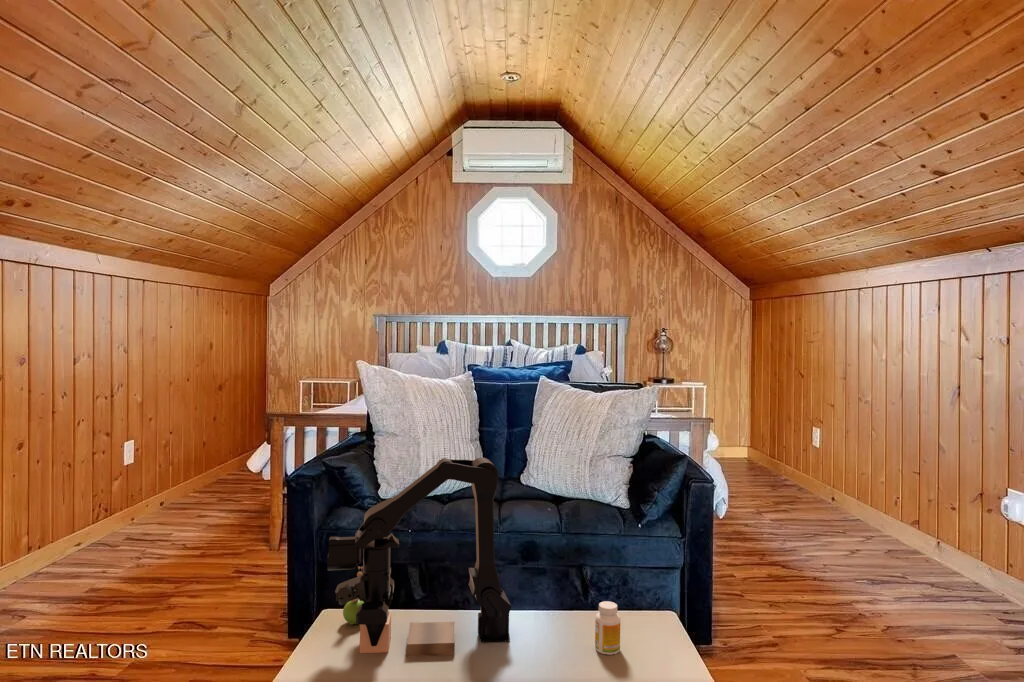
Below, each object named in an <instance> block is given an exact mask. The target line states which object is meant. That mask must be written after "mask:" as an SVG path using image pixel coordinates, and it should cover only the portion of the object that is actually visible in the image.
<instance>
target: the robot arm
mask: <svg viewBox="0 0 1024 682" xmlns="http://www.w3.org/2000/svg"><path fill="white" fill-rule="evenodd" d="M498 471H499V470H498V469H497V467H496V466H495V464H493V462H492V461H490V459H489V458H486V457H478V458H477V457H476V458H475V459H474V460H472V459H454V458H453V459H451V458H446V457H445V458H441V459H439V460H438V461H437V462H436V463H435V464H434V465H433V466H432V467H430V469H428V470H427V471H426V472H424V473H423V474H422V475H420V476H419V477H418V478H417V479H415V480H414V481H412V483H410V484H409V485H408V486H407V487H405V488H404V489H402V490H401V491H400V492H398V494H397V495H394V496H393V497H391V498H387V499H385V500H383V501H381V502H379V503H378V504H375V505H373V506H371V507H370V508H369V509H368V510H366V512H365V514H364V518H363V522H362V524H361V526H360V527H359V528H358V530H356V532H355V534H354V535H355V536H342V537H341V536H330V537H329V539H328V542H329V543H328V553H327V558H326V560H327V564H326V566H327V567H326V568H327V571H329V572H330V571H342V570H344V571H345V570H355V569H356V568H358V565H359V564H361V550H363V551H362V552H363V560H362V561H363V562H362V563H363V565H362V567H363V569H362V571H361V572H362V575H361V576H360V577H353V578H351V579H348V580H345V581H342V582H341V583H339V584H337V585H336V589H335V590H334V592H335V601H336V602H338V604H339V605H340V606H345V605H346V604H347V602H349V601H352V600H354V599H357V598H358V599H360V601H363V602H364V603H362V604H361V605H360V606H359V607H358V610H357V613H356V624H355V625H358V626H360V625H363V624H365V625H366V627H367V630H368V634H369V638H370V642H371V646H377V643H378V641H379V639H380V636H381V634H382V631H383V629H384V626H385V624H386V623H387V619H388V615H389V614H388V612H389V608H390V606H391V603H392V601H393V594H394V589H395V580H394V579H393V578H392V577H391V574H392V567H391V548H399V547H400V542H399V538H397V537H396V536H394V534H393V533H392V532H391V531H393V530H394V528H396V526H397V525H398V524H399V522H400V521H401V519H402V518H403V517H404V515H406V513H407V512H409V511H410V510H411V509H413V508H414V507H415V506H416V505H417V504H419V503H420V502H422V500H424V499H425V498H426V497H428V496H430V494H432V493H433V492H434V491H435V490H437V489H438V488H439V487H441V486H442V484H444V483H445V482H447V481H448V480H453V481H458V482H463V483H466V484H467V483H468V484H471V488H472V493H473V497H474V505H475V507H474V508H475V509H474V510H475V512H474V513H475V543H476V545H475V546H476V547H475V549H476V551H475V552H476V561H475V566H474V567H468V573H469V581H468V586H469V588H470V591H471V594H472V596H473V597H475V600H476V602H477V604H478V605H480V612H478V613H477V634H478V636H479V639H480V642H482V643H491V642H493V643H494V642H497V643H498V642H510V641H511V637H510V612H511V609H512V605H511V603H510V600H509V599H508V597H507V595H506V593H505V591H504V590H503V589H502V588H501V585H500V584H501V583H500V578H499V575H498V572H497V567H496V562H495V561H496V560H495V559H496V558H495V529H494V528H495V527H494V525H495V523H494V522H495V521H494V499H495V497H496V496H495V495H496V493H497V489H498V481H499V472H498Z"/></svg>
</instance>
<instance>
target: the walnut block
mask: <svg viewBox="0 0 1024 682" xmlns="http://www.w3.org/2000/svg"><path fill="white" fill-rule="evenodd" d="M455 624H456V622H455V621H436V622H435V621H432V622H429V621H428V622H410V623H409V629H408V634H407V642H406V657H429V656H431V657H432V656H433V657H434V656H454V655H455V650H456V649H455V647H456V645H455V643H456V640H455V639H456V638H455V637H456V634H455V631H456V630H455V629H456V628H455Z"/></svg>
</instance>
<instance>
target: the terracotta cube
mask: <svg viewBox="0 0 1024 682" xmlns="http://www.w3.org/2000/svg"><path fill="white" fill-rule="evenodd" d="M388 614H389V615H388V619H387V623H386V624H385V626H384V629H383V631H382V634H381V636H380V639H379V641H378V643H377V646H371V642H370V638H369V634H368V630H367V627H366V625H365V624H363V625H359V654H370V653H372V654H374V653H375V654H376V653H377V654H378V653H379V654H380V653H389V650H390V646H391V642H392V641H391V640H392V612H391V611H388Z"/></svg>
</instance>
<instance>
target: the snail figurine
mask: <svg viewBox="0 0 1024 682" xmlns="http://www.w3.org/2000/svg"><path fill="white" fill-rule="evenodd" d="M357 569H358V570H360V569H361V570H363V566H357ZM362 572H363V571H358V572H357V573H356V576H357V577H360V576H361V575H362ZM362 603H365V601H360V598H357V599H354V600H352V601H349V602H346V604H344V607H343V609H342V614H343V615H342V616H343V619H344V620H345V621H346V622H347V623H349V624H351V625H357V624H356V613H357V610H358V607H359V606H360V605H361V604H362Z"/></svg>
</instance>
